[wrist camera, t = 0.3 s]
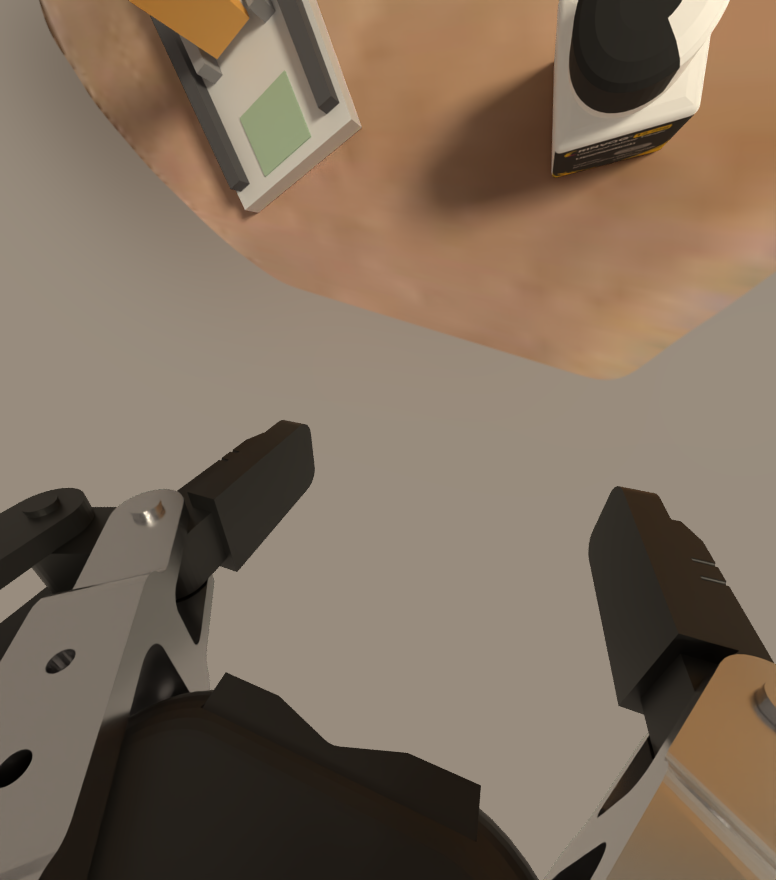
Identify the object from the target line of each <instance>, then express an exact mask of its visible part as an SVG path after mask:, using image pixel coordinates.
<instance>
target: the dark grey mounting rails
mask: <svg viewBox="0 0 776 880" xmlns="http://www.w3.org/2000/svg"><path fill="white" fill-rule="evenodd" d="M277 1H278V4H279V7H280V9H281V12H282V15H283V17H284V20H285V22H286V25H287V28H288V30H289V33H290V35H291V38H292V41H293V43H294V46H295V49H296V51H297V54H298V56H299V59H300V62H301V64H302V67H303V70H304V72H305V75H306V77H307V80H308V83H309V85H310V88H311V91H312V93H313V96H314V98H315V101H316V104H317V106H318V108H319V109H320V110H322V111H323V112H324V113H326V114H328V113H329V112H330V111H331V110H332V109H334V108H335V107H336V106H337V105H338V104H339V100H338V97H337V95H336V92H335V89H334V86H333V84H332V81H331V78H330V75H329V73H328V70H327V67H326V65H325V62H324V59H323V56H322V54H321V51H320V48H319V45H318V43H317V40H316V37H315V34H314V32H313V29H312V26H311V24H310V21H309V18H308V15H307V13H306V10H305V7H304V4H303V2H302V0H277ZM150 17H151V19H152V21H153V23H154V25H155V27H156V30H157V32H158V34H159V36H160V38H161V40H162V42H163V45H164V47H165V49H166V51H167V53H168V55H169V58H170V60H171V62H172V64H173V66H174V68H175V70H176V73H177V75H178V77H179V79H180V81H181V83H182V85H183V88H184V90H185V92H186V94H187V96H188V98H189V101H190V103H191V105H192V107H193V109H194V111H195V113H196V116H197V118H198V120H199V122H200V124H201V126H202V128H203V131H204V133H205V135H206V137H207V139H208V141H209V143H210V146H211V148H212V150H213V152H214V154H215V156H216V159H217V161H218V163H219V165H220V167H221V169H222V171H223V174H224V176H225V178H226V180H227V182H228V184H229V186H230V189H233V190H236V191H240V192H241V191H242V190H244V189H245V188H246V187H247V186H248V185H249V184H250V183H249V181H248V179H247V176H246V174H245V172H244V170H243V167H242V165H241V163H240V161H239V159H238V156H237V154H236V152H235V150H234V147H233V145H232V143H231V141H230V139H229V136H228V134H227V132H226V130H225V127H224V125H223V123H222V121H221V119H220V116H219V114H218V112H217V110H216V107H215V105H214V103H213V101H212V99H211V96H210V94H209V92H208V90H207V87H206V85H205V83H204V81H203V79H202V77H201V76H200V75H198V74H197V73H196V71H195V69H194V66H193V64H192V62H191V60H190V58H189V55H188V53H187V51H186V49H185V46H184V44H183V42H182V40H181V38H180V35H179V34H178V33H177V32H175V31H174V30H172V29H171V28H169V27H168V26H166V25H165V24H163V23H162V22H160V21H159V20H157V19H156V18H154V17H152V16H151V15H150Z"/></svg>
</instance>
